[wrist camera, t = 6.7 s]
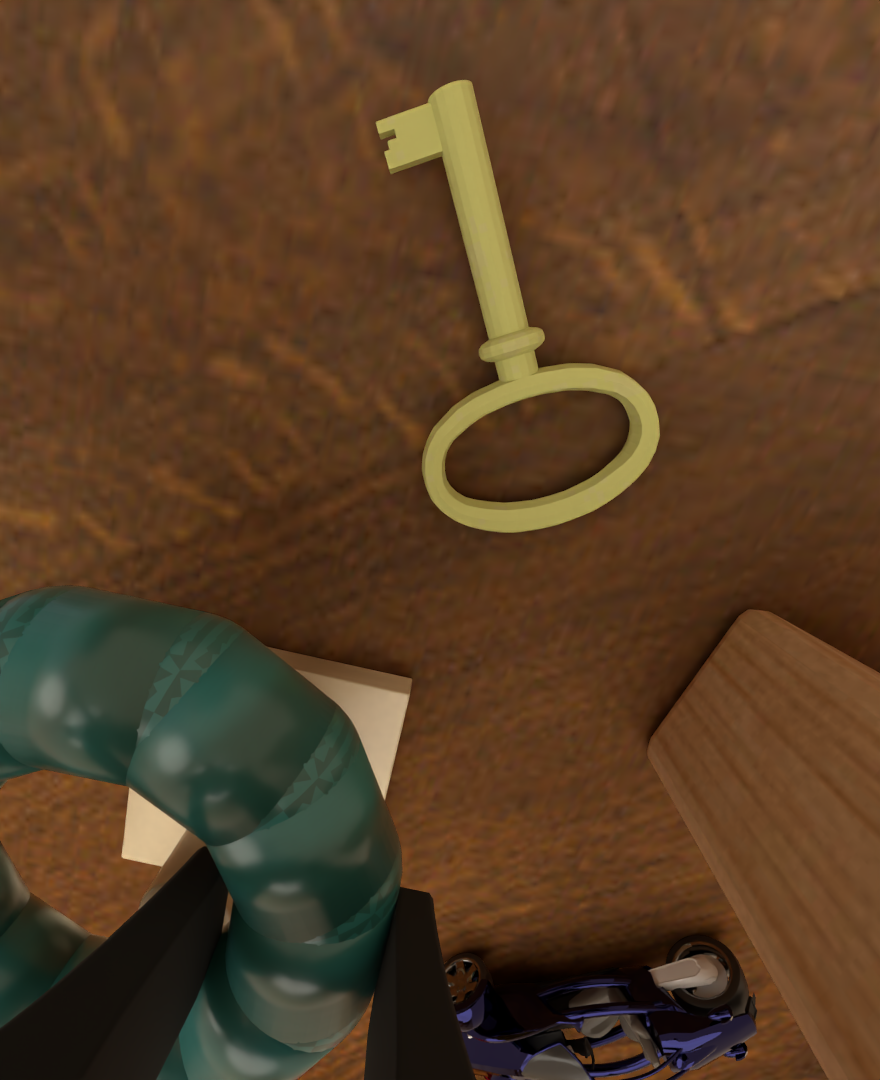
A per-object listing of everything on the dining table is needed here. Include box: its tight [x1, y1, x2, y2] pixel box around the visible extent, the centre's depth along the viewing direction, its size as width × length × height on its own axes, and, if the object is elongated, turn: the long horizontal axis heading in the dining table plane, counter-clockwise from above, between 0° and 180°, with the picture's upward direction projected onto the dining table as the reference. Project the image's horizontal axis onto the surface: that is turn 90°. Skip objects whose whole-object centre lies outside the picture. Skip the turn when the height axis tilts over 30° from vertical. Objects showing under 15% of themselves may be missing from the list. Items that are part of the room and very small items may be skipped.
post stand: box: [122, 647, 412, 927], centre depth 17 cm, size 9×9×7 cm
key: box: [376, 80, 660, 533], centre depth 16 cm, size 7×12×2 cm, turn 35°
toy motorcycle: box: [444, 935, 757, 1080], centre depth 21 cm, size 12×6×4 cm, turn 114°
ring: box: [0, 585, 402, 1080], centre depth 10 cm, size 11×11×3 cm
